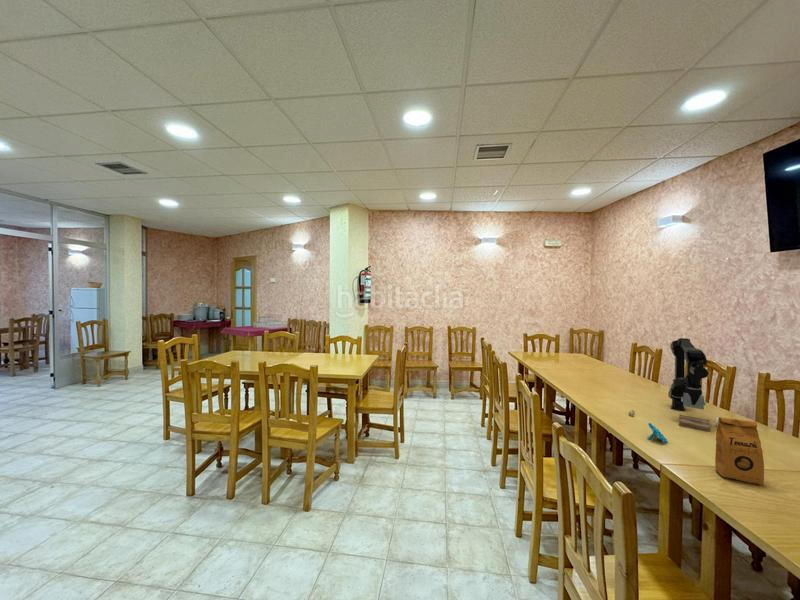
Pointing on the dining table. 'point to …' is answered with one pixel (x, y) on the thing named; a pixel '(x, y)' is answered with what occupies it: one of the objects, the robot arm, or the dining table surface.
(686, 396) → the housing
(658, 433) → the blue t-shaped bar
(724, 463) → the coffee package
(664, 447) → the dining table surface
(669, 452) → the dining table surface
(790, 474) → the dining table surface
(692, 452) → the dining table surface
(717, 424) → the cream thin sliver
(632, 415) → the loose bolt
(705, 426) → the stand
